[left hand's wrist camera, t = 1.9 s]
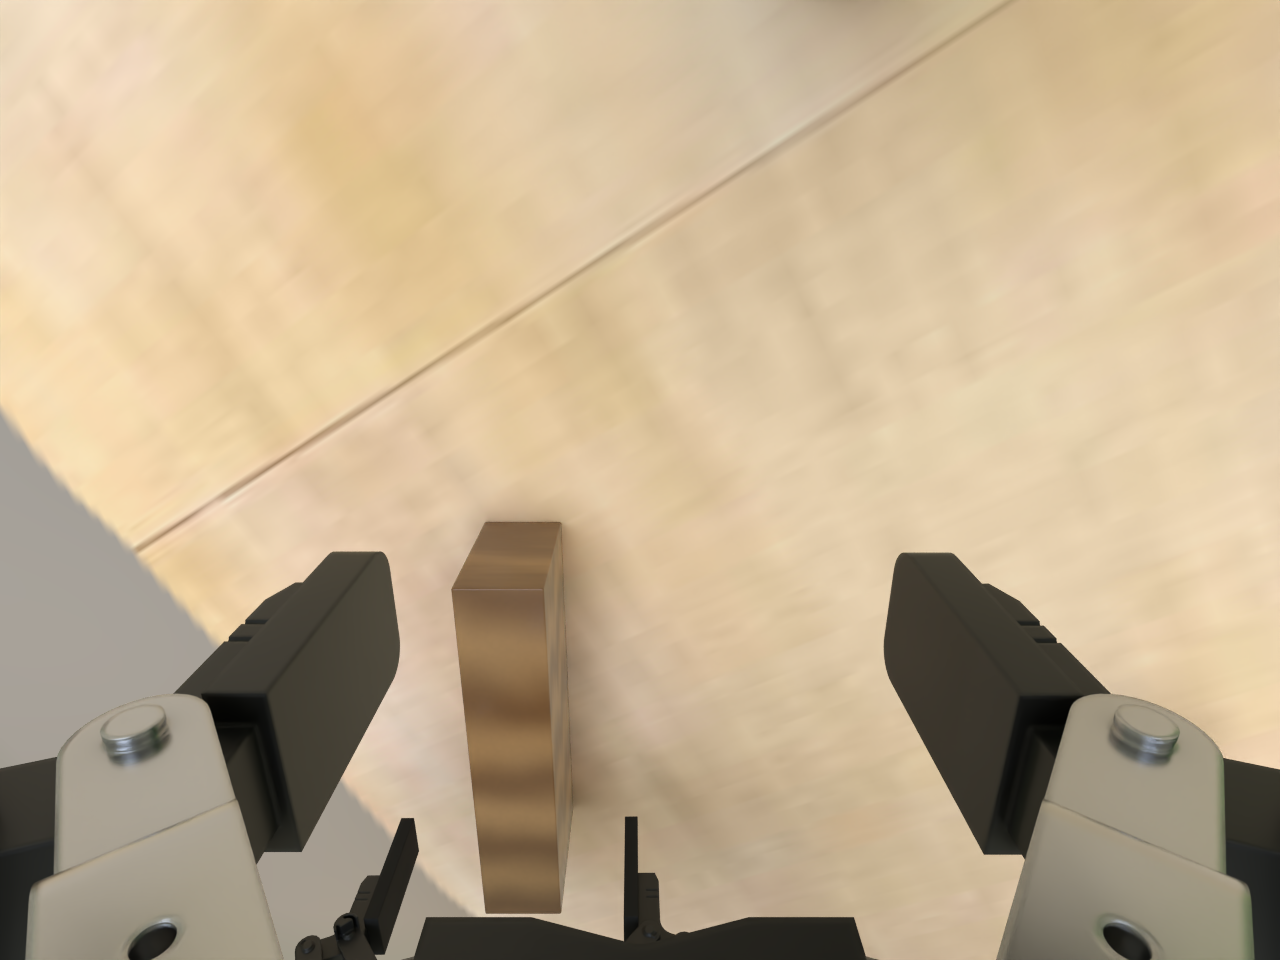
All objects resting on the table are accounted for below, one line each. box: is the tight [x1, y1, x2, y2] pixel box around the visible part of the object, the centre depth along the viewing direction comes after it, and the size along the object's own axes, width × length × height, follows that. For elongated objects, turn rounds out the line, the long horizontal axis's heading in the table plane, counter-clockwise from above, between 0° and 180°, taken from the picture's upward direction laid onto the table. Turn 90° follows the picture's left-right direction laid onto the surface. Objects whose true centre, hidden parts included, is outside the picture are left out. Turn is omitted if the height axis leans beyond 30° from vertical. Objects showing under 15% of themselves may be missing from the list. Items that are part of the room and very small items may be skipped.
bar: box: [452, 522, 573, 914], centre depth 43 cm, size 22×5×8 cm, turn 0°
